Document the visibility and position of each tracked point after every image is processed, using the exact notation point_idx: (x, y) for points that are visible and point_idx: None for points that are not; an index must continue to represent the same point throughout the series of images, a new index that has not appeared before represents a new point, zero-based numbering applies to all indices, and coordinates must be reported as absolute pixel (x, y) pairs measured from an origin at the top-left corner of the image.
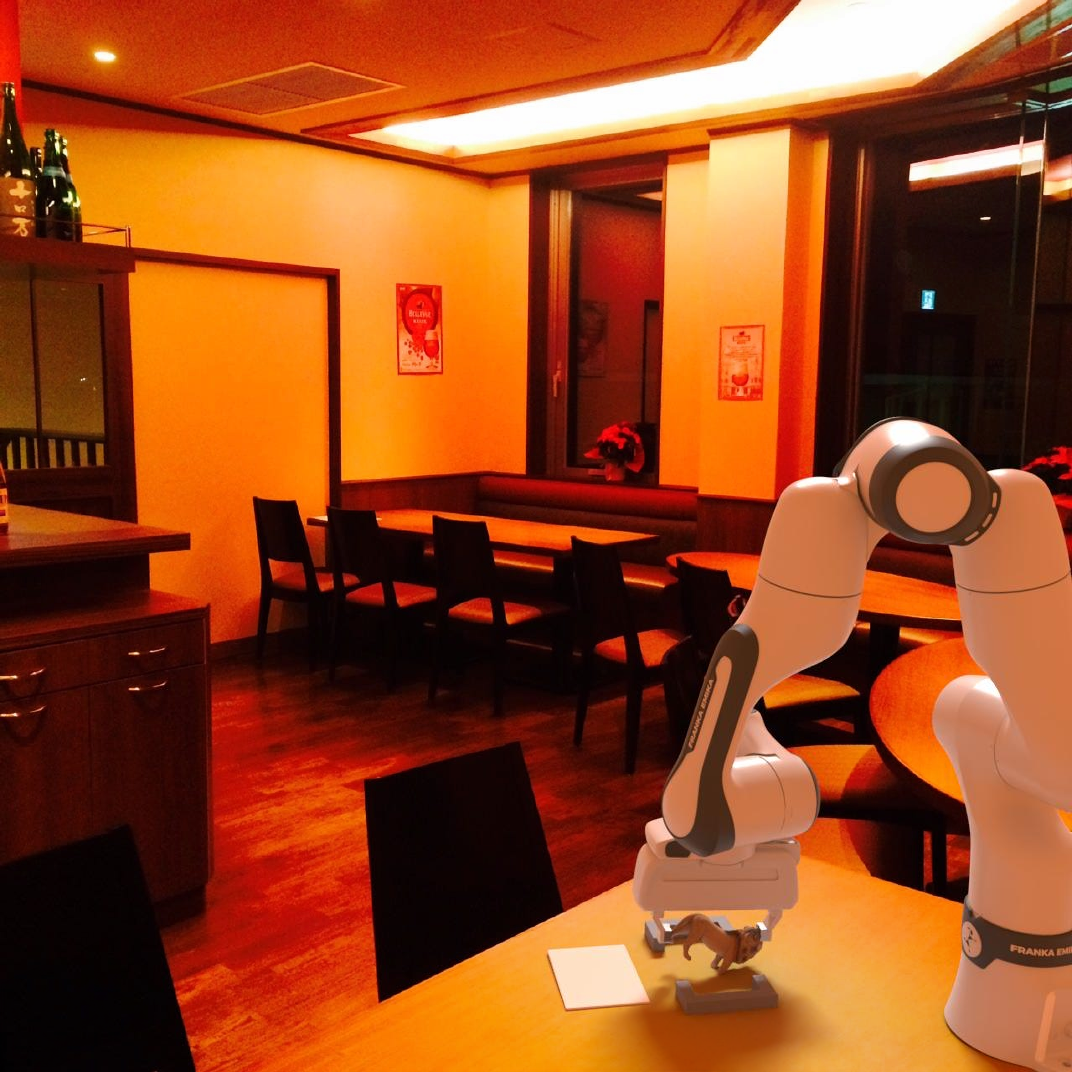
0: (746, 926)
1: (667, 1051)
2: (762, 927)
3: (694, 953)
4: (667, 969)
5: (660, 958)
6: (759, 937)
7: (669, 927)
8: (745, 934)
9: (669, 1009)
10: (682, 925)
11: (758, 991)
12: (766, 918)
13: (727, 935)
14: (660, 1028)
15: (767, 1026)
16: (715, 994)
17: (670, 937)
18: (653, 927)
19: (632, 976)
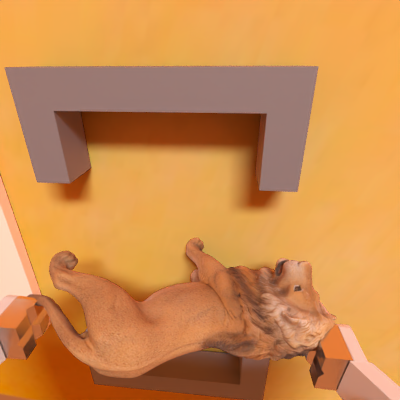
0: (293, 323)
1: (72, 393)
2: (327, 381)
3: (166, 184)
4: (91, 234)
5: (78, 191)
6: (306, 354)
7: (19, 342)
8: (265, 356)
9: None
10: (75, 297)
11: (231, 388)
12: (366, 385)
13: (209, 347)
14: (66, 362)
15: None
16: (148, 379)
17: (35, 339)
18: (35, 118)
19: (10, 265)
